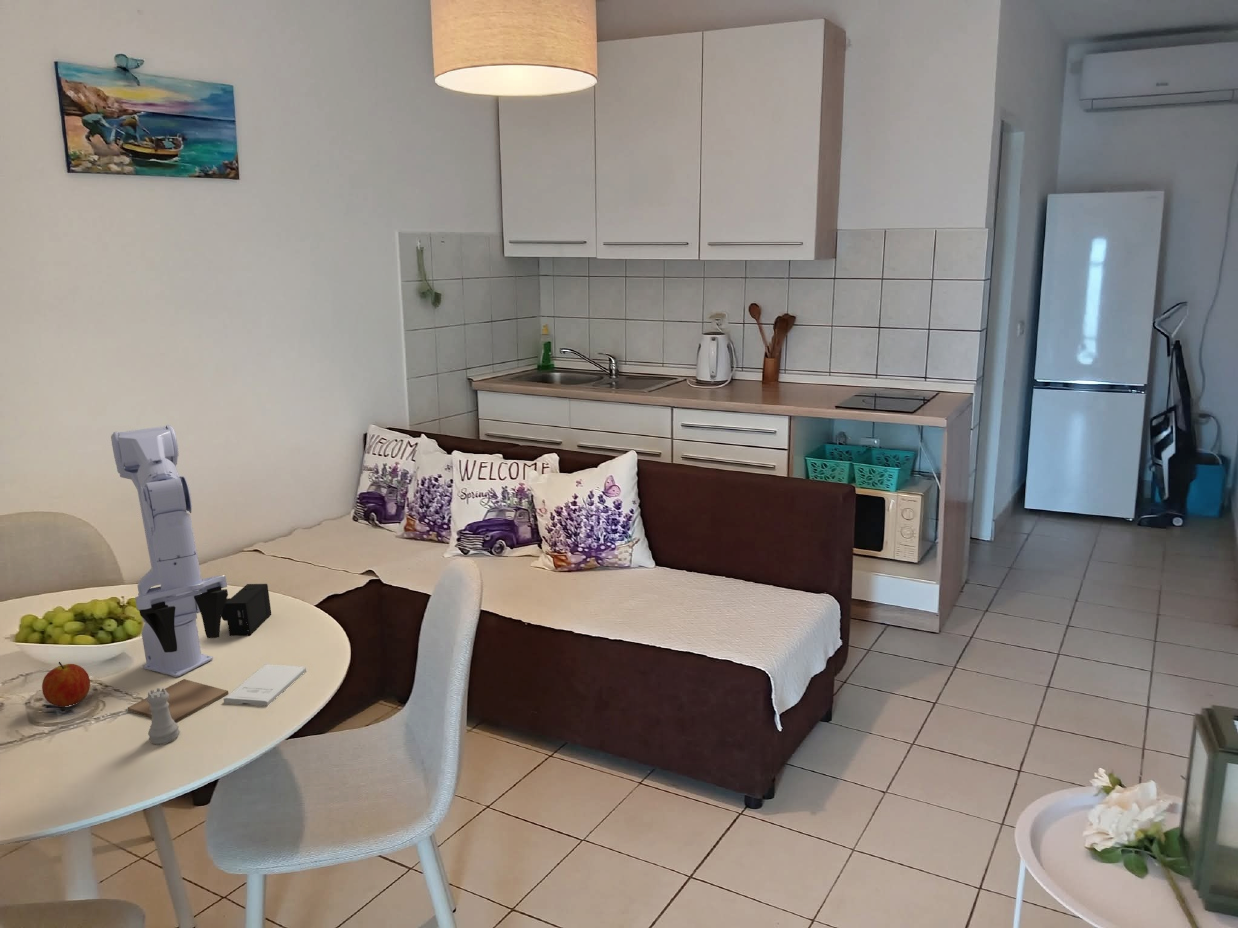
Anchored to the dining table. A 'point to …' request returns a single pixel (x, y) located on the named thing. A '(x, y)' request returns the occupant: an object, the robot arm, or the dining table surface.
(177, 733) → the rook chess piece
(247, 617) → the digital camera
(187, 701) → the walnut coaster
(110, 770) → the dining table surface
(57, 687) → the fruit
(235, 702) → the external hard drive
